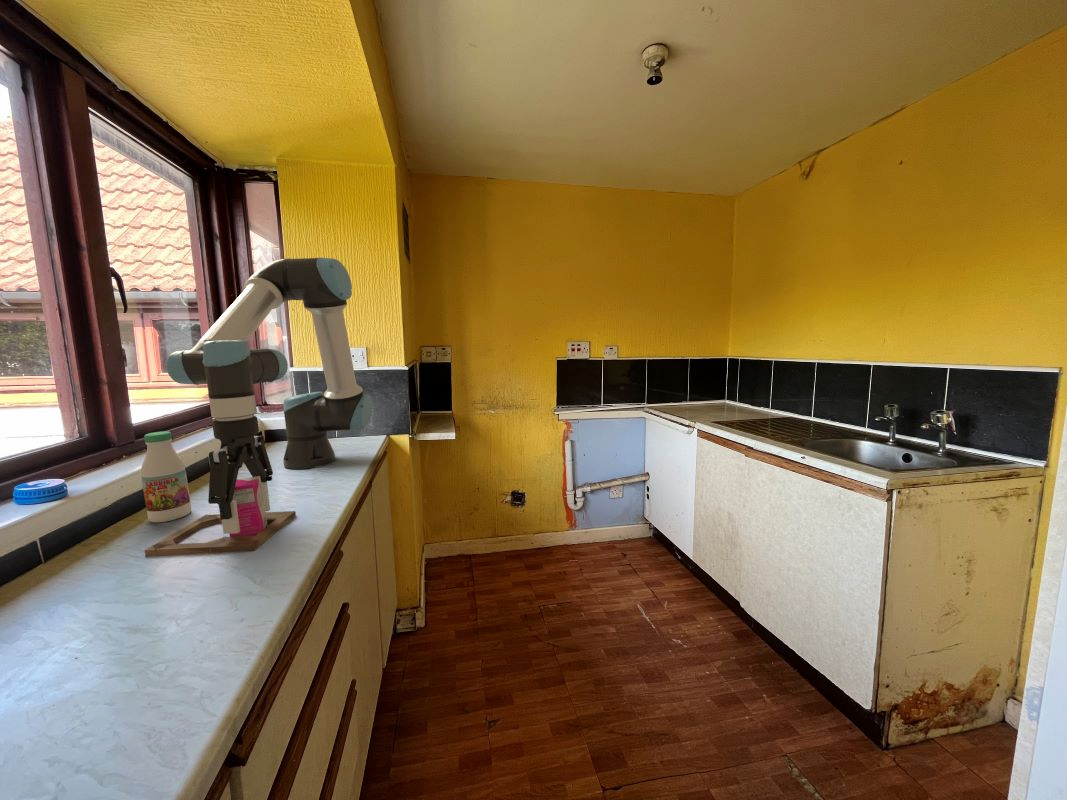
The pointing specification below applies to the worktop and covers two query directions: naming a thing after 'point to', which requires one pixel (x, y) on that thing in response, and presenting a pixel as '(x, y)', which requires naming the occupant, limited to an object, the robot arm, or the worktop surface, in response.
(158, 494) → the milk bottle
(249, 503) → the supplement box
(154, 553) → the keyhole plate
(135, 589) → the worktop surface
